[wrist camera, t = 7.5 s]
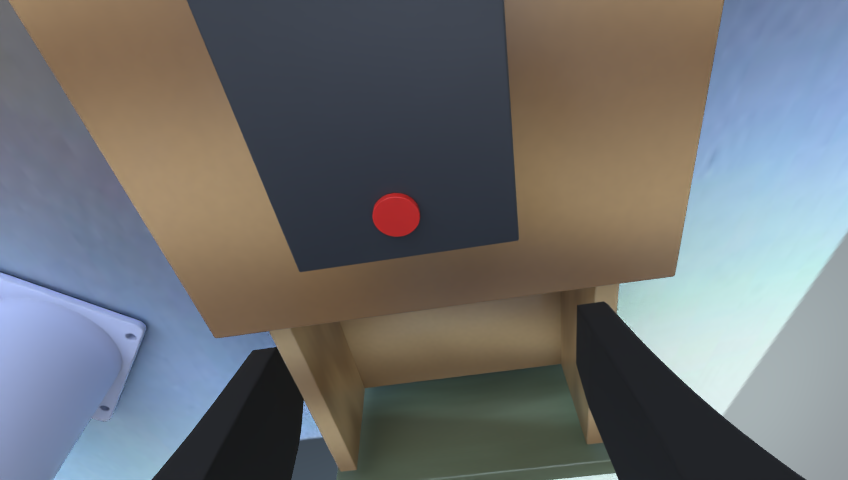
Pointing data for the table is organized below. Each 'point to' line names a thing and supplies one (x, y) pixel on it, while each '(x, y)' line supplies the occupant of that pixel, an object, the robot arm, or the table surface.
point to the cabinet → (422, 274)
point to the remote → (372, 121)
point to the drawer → (453, 391)
